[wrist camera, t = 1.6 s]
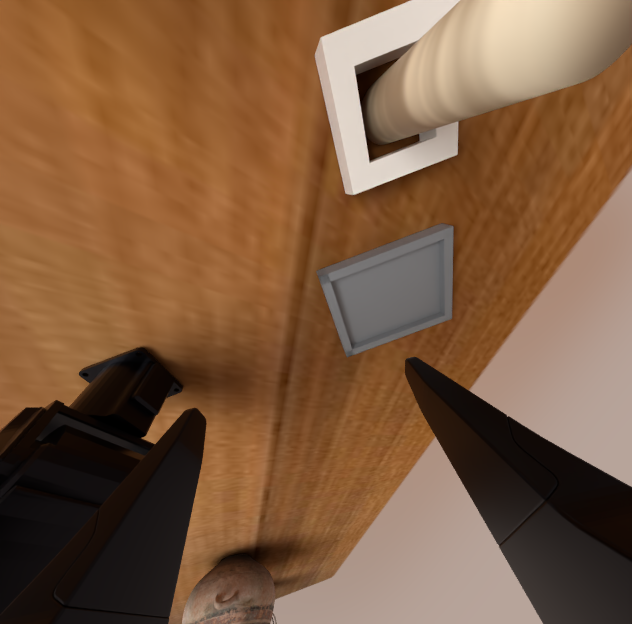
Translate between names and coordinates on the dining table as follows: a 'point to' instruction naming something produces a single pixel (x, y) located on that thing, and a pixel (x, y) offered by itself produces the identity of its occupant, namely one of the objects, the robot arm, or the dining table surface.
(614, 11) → the dowel
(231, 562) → the cooking pot
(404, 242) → the tray
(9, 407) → the dining table surface
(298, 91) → the dining table surface
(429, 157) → the socket
